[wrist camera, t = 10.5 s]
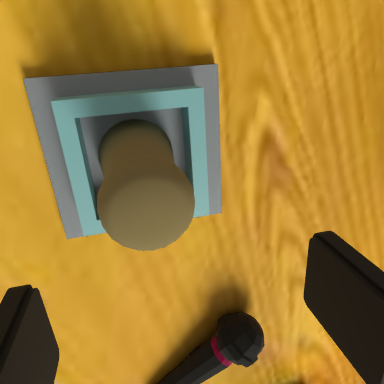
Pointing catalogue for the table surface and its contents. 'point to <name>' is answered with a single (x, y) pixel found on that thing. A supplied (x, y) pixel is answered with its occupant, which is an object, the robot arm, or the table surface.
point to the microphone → (221, 350)
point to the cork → (142, 187)
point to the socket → (120, 111)
